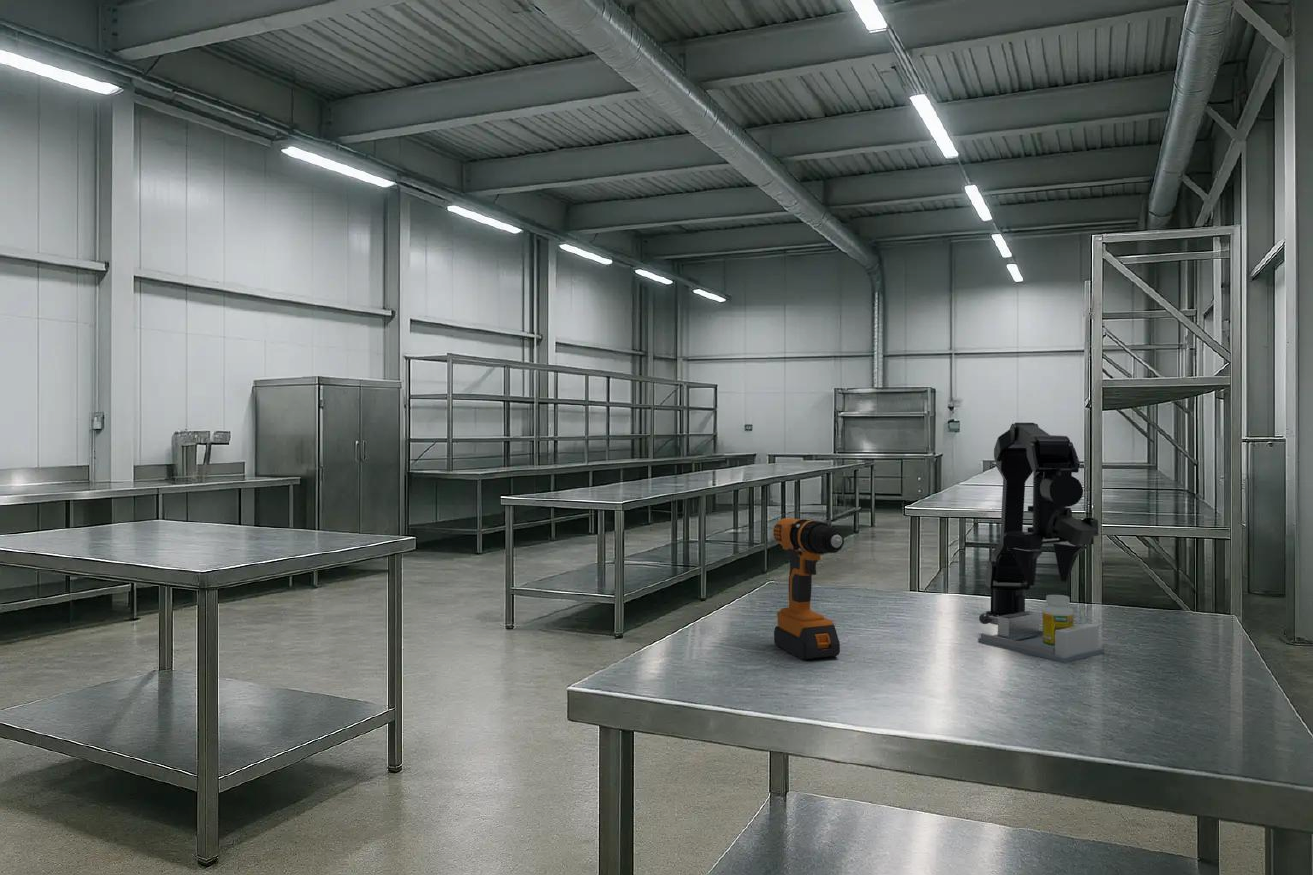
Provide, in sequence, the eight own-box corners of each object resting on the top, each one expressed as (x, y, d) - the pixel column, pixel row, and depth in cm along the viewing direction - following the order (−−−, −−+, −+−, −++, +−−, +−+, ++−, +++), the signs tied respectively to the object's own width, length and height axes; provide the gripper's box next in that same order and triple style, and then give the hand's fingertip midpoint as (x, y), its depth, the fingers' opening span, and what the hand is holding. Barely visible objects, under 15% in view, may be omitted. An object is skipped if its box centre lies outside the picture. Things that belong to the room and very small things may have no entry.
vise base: (978, 642, 173) (978, 615, 173) (1017, 633, 180) (1018, 608, 180) (1064, 662, 158) (1064, 633, 158) (1104, 652, 166) (1104, 625, 166)
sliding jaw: (964, 631, 178) (964, 609, 178) (994, 625, 183) (995, 604, 183) (1008, 641, 169) (1008, 618, 169) (1039, 635, 175) (1039, 612, 175)
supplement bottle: (1062, 643, 169) (1063, 593, 169) (1079, 650, 164) (1080, 598, 164) (1036, 644, 169) (1036, 594, 169) (1052, 651, 163) (1053, 599, 163)
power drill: (860, 668, 154) (862, 525, 153) (823, 671, 151) (824, 526, 151) (802, 639, 174) (803, 513, 174) (768, 642, 172) (769, 514, 171)
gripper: (1051, 507, 156) (1050, 595, 157) (1120, 503, 165) (1118, 586, 165) (1001, 502, 166) (1000, 584, 167) (1068, 498, 175) (1066, 576, 175)
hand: (1047, 583), depth 168 cm, fingers open, 9 cm apart
